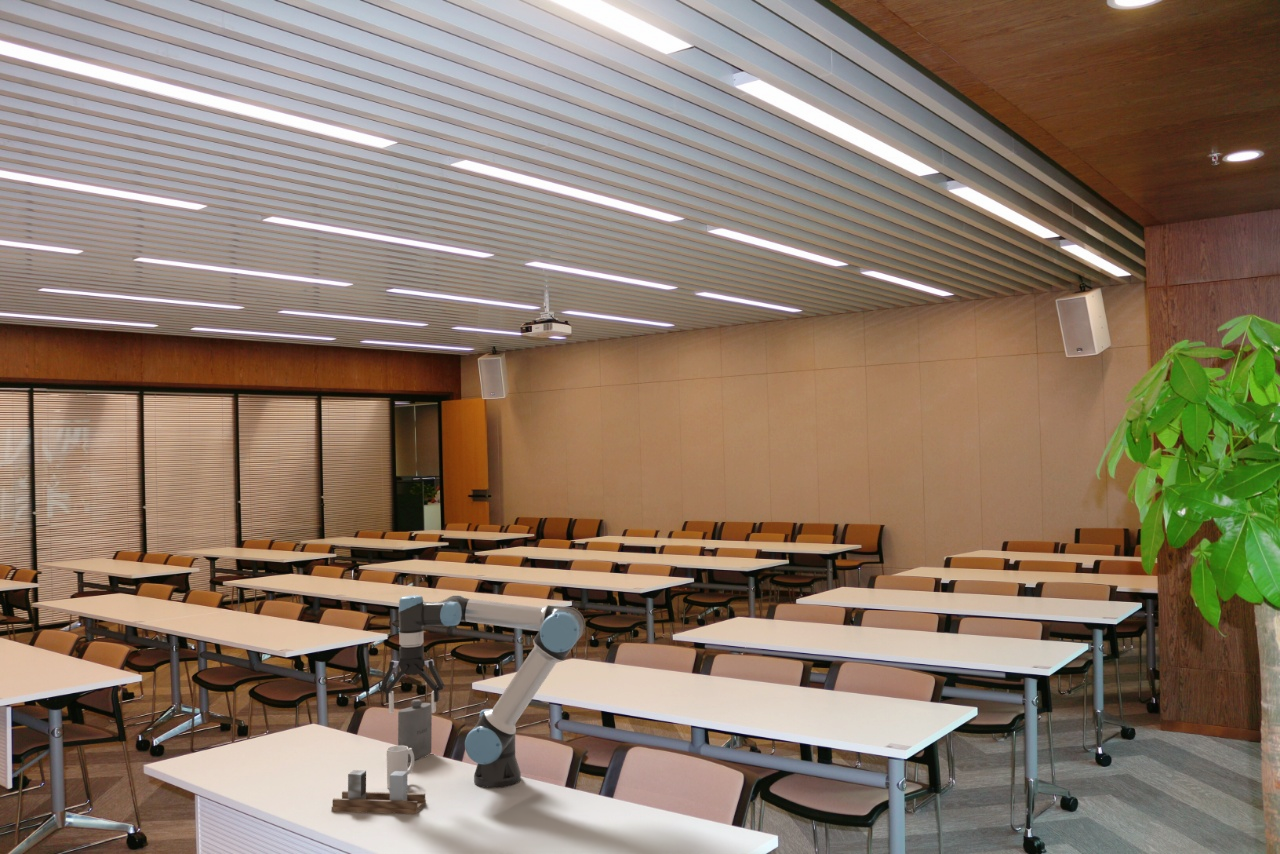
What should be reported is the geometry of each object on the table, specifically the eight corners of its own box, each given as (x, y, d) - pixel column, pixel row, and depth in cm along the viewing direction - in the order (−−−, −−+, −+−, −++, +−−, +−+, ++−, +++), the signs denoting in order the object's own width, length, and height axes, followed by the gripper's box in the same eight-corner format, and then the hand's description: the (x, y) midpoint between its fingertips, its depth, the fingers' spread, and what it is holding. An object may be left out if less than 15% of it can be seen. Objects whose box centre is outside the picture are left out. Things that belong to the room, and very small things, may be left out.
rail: (425, 803, 291) (426, 769, 291) (415, 814, 282) (415, 779, 282) (344, 800, 294) (344, 767, 294) (331, 811, 285) (331, 776, 285)
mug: (394, 791, 303) (395, 752, 303) (382, 786, 307) (382, 749, 307) (420, 782, 310) (420, 745, 311) (407, 778, 315) (407, 742, 315)
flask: (407, 764, 331) (408, 705, 332) (395, 761, 334) (395, 703, 335) (436, 752, 344) (436, 696, 345) (423, 750, 347) (423, 695, 348)
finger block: (407, 801, 289) (407, 771, 289) (402, 806, 285) (402, 775, 285) (394, 801, 289) (394, 771, 290) (389, 805, 285) (389, 775, 286)
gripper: (453, 642, 307) (454, 708, 306) (376, 643, 308) (377, 710, 307) (447, 646, 299) (448, 714, 298) (369, 648, 300) (369, 716, 299)
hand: (412, 712), depth 302 cm, fingers open, 13 cm apart
